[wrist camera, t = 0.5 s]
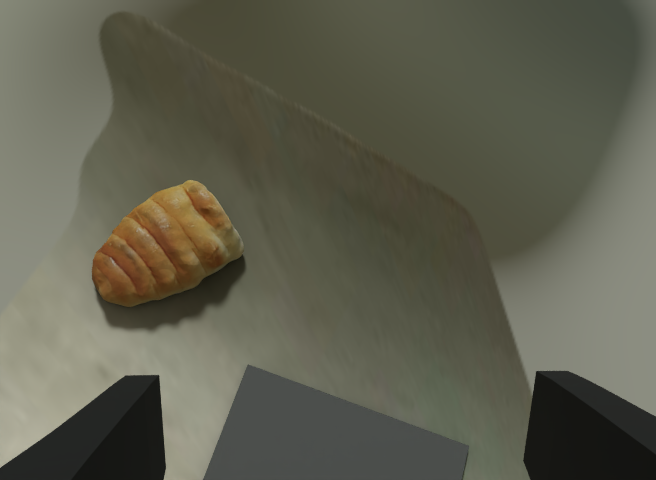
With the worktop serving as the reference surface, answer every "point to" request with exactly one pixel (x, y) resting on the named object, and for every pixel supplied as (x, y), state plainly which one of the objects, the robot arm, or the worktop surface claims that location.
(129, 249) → the pastry
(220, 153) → the worktop surface
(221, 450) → the mat
